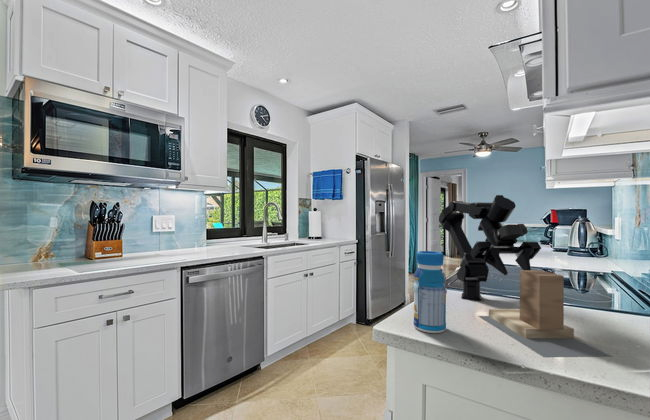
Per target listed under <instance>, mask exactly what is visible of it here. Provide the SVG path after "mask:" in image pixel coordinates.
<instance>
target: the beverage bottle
mask: <svg viewBox="0 0 650 420" xmlns="http://www.w3.org/2000/svg"><path fill="white" fill-rule="evenodd" d="M444 262H445V261H444V253H443V252H440V251H433V250H420V251H417V252H416V264H417V265H418V267H417V268H416V270H415V272H414V273H413V274H414V275H413V280H414V283H413V285H412V290H413V326H414V328H415V329H416V330H418V331H420V332H424V333H428V334H440V333H443V332H445V331H446V330H447V322H446V320H447V319H446V318H447V317H446V315H447V313H446V312H447V311H446V310H447V309H446V308H447V307H446V306H447V292H448V289H447V285H446V282H447V277H446V274H445V272H444V270H443V269H442V267H443V266H444Z"/></svg>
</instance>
